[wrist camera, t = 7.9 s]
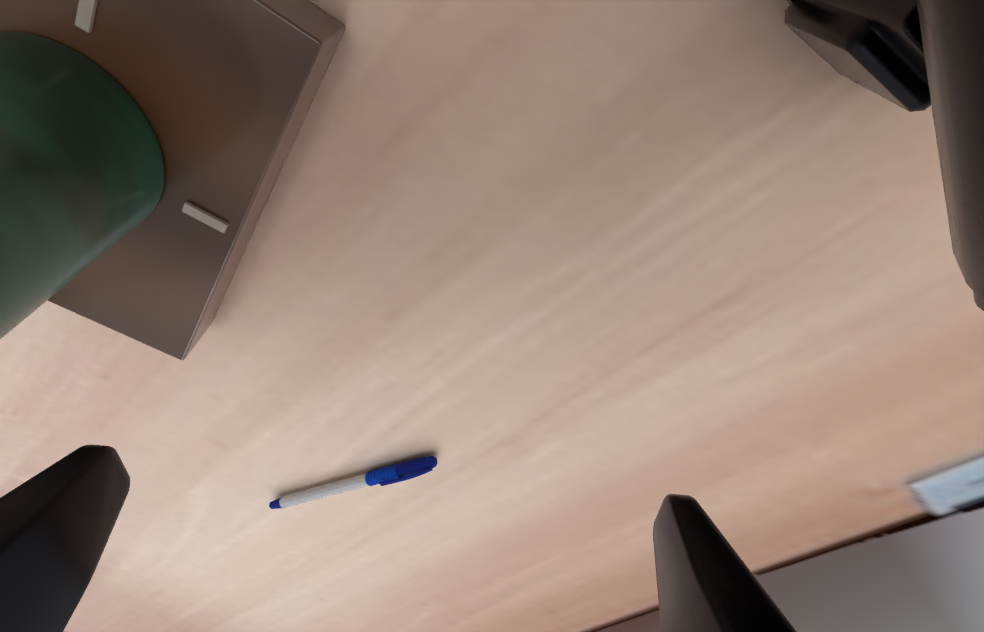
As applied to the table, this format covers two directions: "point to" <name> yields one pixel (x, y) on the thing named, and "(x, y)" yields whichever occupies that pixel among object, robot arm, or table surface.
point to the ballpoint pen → (361, 481)
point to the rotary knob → (65, 169)
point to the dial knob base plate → (190, 141)
